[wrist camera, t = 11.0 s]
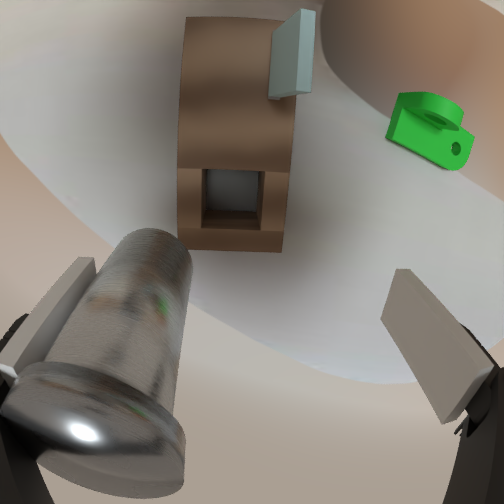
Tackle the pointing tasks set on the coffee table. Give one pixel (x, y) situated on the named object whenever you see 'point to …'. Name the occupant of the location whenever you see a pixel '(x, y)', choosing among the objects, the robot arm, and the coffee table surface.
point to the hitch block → (231, 133)
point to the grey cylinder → (113, 377)
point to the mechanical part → (431, 129)
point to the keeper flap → (292, 56)
